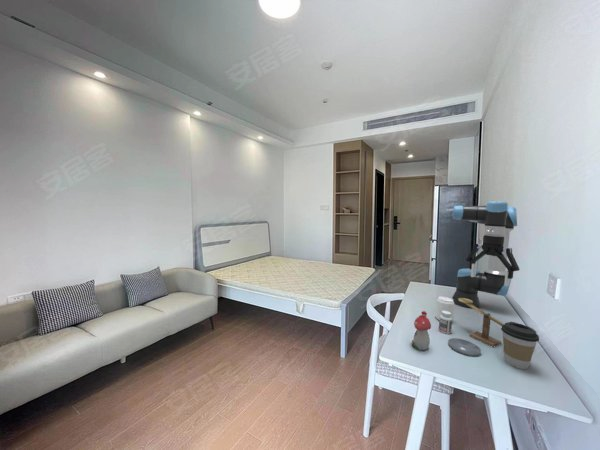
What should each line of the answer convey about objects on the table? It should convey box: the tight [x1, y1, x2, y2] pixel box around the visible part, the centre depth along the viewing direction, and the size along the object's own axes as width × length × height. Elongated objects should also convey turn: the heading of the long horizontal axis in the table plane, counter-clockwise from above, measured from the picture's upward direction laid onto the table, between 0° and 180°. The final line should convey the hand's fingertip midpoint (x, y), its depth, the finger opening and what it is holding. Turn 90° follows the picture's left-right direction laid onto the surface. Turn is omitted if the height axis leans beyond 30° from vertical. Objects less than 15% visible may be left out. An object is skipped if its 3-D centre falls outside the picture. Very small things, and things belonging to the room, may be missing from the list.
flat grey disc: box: [447, 337, 482, 358], centre depth 107 cm, size 12×12×1 cm
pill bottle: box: [438, 311, 453, 334], centre depth 121 cm, size 5×5×10 cm
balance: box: [458, 298, 517, 348], centre depth 114 cm, size 7×26×16 cm, turn 27°
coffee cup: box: [500, 321, 540, 370], centre depth 97 cm, size 11×11×15 cm
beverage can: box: [435, 296, 455, 322], centre depth 133 cm, size 8×8×12 cm
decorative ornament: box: [411, 310, 432, 351], centre depth 106 cm, size 9×7×15 cm
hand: (489, 280), depth 112 cm, fingers open, 13 cm apart
